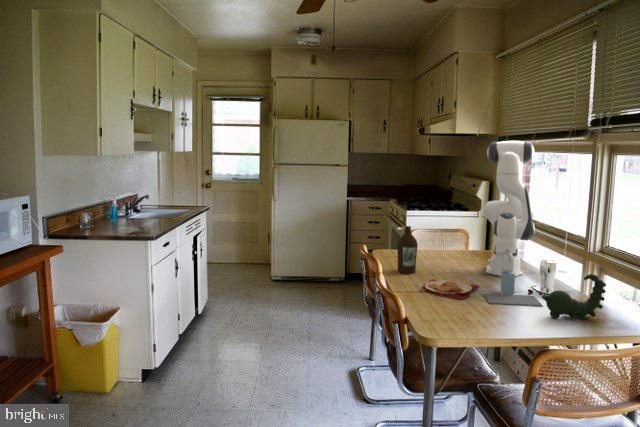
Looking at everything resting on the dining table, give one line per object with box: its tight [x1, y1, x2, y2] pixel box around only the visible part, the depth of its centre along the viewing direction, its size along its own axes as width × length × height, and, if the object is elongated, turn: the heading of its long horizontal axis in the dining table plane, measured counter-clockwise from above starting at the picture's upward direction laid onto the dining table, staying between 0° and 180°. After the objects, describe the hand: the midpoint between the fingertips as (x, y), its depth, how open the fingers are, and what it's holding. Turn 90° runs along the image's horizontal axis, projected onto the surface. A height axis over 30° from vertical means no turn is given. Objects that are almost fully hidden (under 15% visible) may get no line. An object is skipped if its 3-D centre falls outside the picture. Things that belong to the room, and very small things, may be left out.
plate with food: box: [418, 279, 480, 300], centre depth 236 cm, size 24×26×4 cm
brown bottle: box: [396, 225, 418, 275], centre depth 268 cm, size 11×11×25 cm
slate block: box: [499, 271, 516, 295], centre depth 230 cm, size 5×5×10 cm
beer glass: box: [539, 259, 557, 295], centre depth 232 cm, size 7×7×15 cm
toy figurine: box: [540, 273, 607, 321], centre depth 197 cm, size 9×19×25 cm
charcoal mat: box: [483, 292, 544, 308], centre depth 220 cm, size 14×22×1 cm, turn 82°
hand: (503, 276), depth 237 cm, fingers closed
